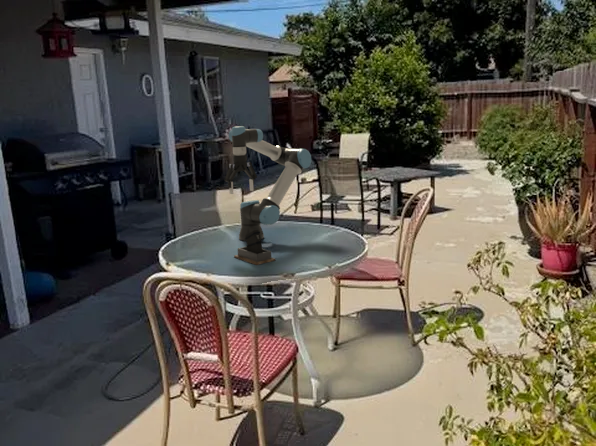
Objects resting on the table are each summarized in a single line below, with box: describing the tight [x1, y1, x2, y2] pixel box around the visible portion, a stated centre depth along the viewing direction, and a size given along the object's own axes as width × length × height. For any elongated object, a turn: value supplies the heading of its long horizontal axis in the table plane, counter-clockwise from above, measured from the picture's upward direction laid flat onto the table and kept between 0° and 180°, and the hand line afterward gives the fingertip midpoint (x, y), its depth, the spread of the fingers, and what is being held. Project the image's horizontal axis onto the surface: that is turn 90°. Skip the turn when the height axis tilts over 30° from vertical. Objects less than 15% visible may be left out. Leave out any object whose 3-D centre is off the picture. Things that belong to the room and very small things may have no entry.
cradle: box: [237, 246, 272, 262], centre depth 294 cm, size 9×18×4 cm, turn 39°
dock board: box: [233, 254, 277, 266], centre depth 294 cm, size 12×21×1 cm, turn 39°
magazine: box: [245, 230, 263, 254], centre depth 293 cm, size 4×13×15 cm, turn 35°
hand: (241, 192), depth 314 cm, fingers open, 13 cm apart
